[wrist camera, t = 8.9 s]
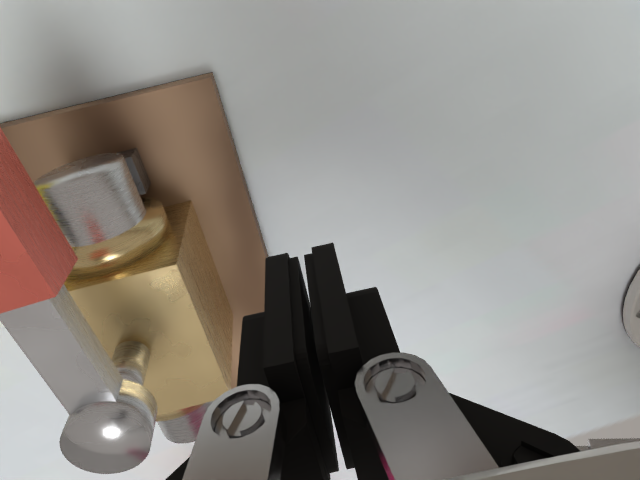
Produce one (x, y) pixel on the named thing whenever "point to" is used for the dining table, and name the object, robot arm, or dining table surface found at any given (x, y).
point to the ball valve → (145, 285)
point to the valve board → (167, 170)
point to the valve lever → (64, 333)
